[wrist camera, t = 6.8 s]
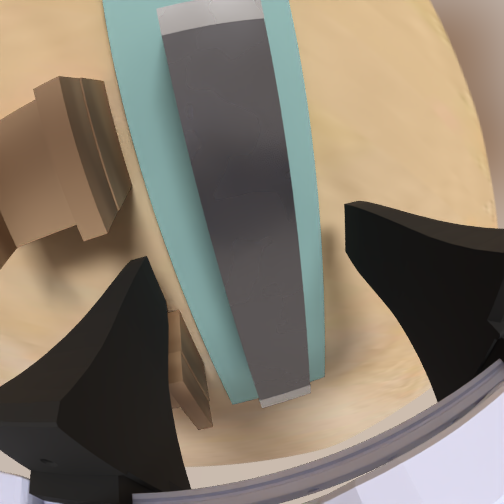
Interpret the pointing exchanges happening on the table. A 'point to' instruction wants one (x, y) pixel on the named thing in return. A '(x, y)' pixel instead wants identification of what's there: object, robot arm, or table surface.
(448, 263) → the robot arm
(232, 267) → the rail
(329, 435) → the table surface
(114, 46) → the mat
